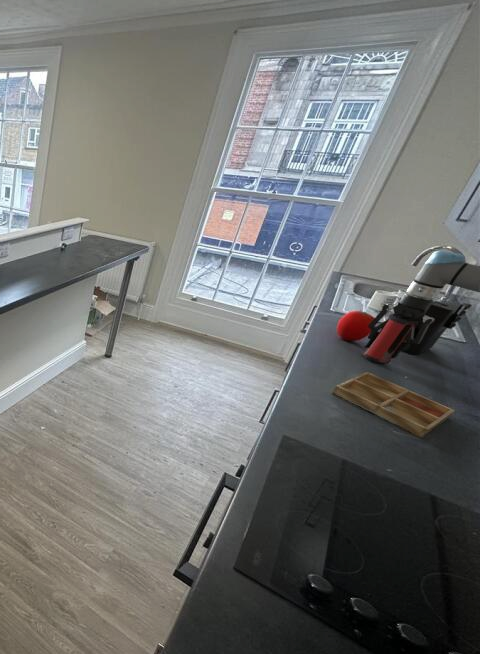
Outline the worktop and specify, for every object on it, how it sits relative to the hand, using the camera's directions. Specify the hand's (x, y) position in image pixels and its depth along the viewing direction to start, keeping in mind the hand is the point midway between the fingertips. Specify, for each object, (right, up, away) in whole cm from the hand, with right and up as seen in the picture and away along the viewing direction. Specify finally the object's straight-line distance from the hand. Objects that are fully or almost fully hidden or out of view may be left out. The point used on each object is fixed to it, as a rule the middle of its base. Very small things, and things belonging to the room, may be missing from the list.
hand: (380, 352), depth 151 cm
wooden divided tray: (-23, -17, -25) cm, 38 cm away
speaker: (0, -3, +2) cm, 3 cm away
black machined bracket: (+29, +2, +15) cm, 33 cm away
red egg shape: (+3, +5, +17) cm, 18 cm away
